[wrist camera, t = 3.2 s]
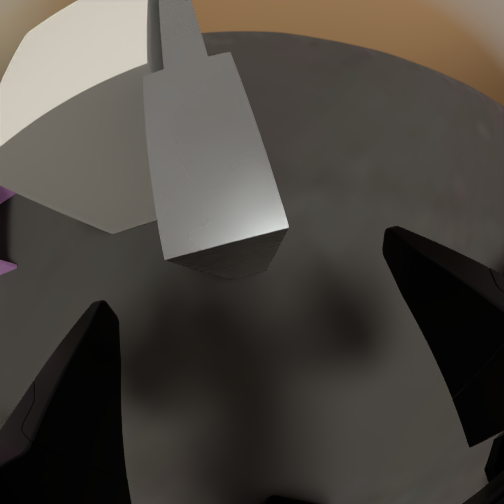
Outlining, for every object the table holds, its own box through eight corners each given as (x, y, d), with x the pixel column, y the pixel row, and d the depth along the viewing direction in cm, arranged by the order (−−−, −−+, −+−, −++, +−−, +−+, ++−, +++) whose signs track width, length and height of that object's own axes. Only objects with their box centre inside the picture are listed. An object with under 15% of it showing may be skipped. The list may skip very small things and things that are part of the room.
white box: (216, 202, 18) (152, 61, 5) (112, 234, 18) (-28, 172, 5) (191, 88, 20) (153, -36, 7) (107, 118, 20) (31, 25, 7)
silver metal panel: (266, 270, 17) (288, 227, 5) (229, 280, 17) (164, 259, 5) (216, 87, 19) (191, -40, 7) (188, 94, 19) (147, -28, 7)
